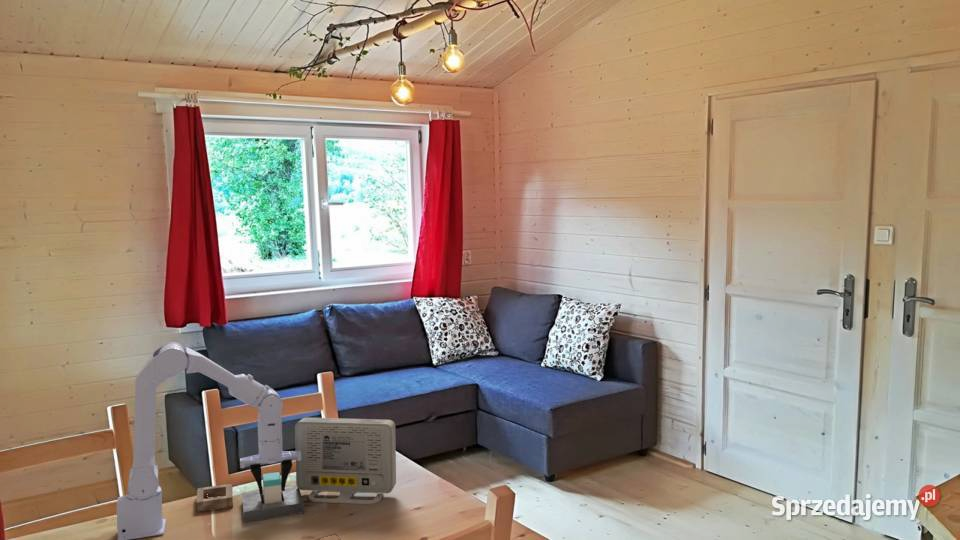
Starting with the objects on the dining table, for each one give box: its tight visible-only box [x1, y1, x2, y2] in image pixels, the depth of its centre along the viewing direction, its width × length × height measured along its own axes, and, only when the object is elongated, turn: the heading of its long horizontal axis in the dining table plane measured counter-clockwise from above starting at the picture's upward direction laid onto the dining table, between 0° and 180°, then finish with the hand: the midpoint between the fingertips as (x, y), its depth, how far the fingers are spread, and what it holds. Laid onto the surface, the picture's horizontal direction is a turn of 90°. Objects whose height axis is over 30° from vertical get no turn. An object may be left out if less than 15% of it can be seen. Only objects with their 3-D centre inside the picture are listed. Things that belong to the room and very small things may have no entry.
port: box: [241, 485, 305, 523], centre depth 171 cm, size 14×12×2 cm
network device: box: [294, 417, 397, 505], centre depth 177 cm, size 26×9×20 cm, turn 84°
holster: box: [196, 483, 234, 513], centre depth 175 cm, size 8×9×2 cm
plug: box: [262, 471, 283, 504], centre depth 171 cm, size 4×5×8 cm
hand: (272, 491), depth 171 cm, fingers open, 5 cm apart
